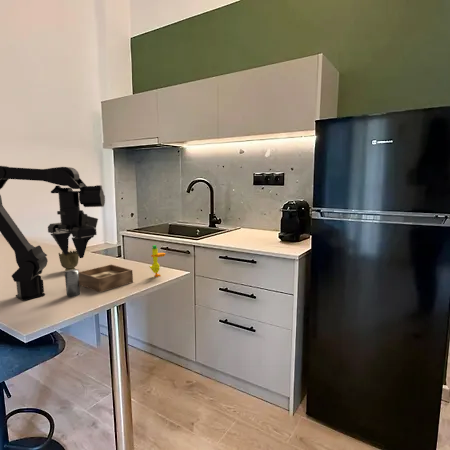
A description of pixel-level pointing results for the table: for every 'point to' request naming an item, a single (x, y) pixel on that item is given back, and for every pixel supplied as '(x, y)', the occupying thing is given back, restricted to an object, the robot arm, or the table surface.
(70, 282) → the metal peg
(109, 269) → the walnut box
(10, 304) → the table surface
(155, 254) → the toy figure
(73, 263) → the cup
